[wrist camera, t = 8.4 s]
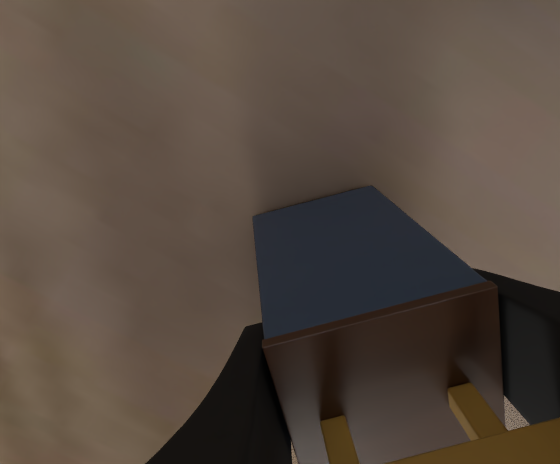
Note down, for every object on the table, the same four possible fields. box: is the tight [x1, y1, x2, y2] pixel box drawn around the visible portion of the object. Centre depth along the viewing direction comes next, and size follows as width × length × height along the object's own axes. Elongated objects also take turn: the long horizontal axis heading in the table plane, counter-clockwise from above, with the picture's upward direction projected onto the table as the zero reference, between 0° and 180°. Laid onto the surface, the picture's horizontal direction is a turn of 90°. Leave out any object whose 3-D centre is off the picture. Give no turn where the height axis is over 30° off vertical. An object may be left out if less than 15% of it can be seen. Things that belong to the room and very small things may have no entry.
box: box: [253, 186, 560, 464], centre depth 13 cm, size 12×6×6 cm
